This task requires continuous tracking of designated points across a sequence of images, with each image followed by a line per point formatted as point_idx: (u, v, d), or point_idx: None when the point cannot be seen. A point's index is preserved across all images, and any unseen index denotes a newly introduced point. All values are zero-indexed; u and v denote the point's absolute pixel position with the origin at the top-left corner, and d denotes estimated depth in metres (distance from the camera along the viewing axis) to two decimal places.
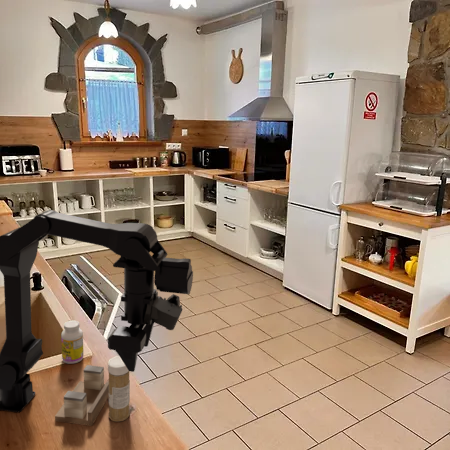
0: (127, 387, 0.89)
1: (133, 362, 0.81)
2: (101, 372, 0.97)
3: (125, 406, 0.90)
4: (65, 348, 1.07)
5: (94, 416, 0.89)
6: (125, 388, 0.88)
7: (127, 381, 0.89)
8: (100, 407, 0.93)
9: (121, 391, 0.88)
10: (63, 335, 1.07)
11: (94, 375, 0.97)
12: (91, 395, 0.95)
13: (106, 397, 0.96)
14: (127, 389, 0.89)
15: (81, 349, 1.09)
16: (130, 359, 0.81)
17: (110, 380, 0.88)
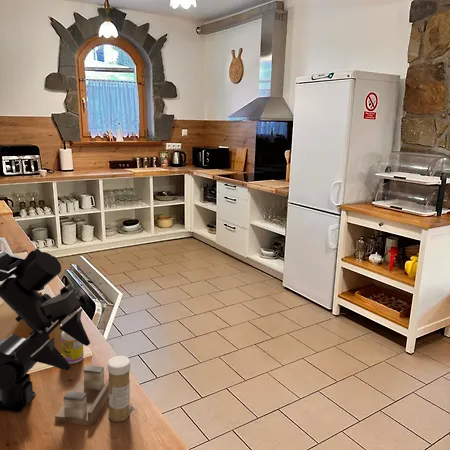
0: (127, 387, 0.89)
1: (60, 360, 0.83)
2: (101, 372, 0.97)
3: (125, 406, 0.90)
4: (65, 348, 1.07)
5: (94, 416, 0.89)
6: (125, 388, 0.88)
7: (127, 381, 0.89)
8: (100, 407, 0.93)
9: (121, 391, 0.88)
10: (63, 335, 1.07)
11: (94, 375, 0.97)
12: (91, 395, 0.95)
13: (106, 397, 0.96)
14: (127, 389, 0.89)
15: (81, 349, 1.09)
16: (55, 359, 0.83)
17: (110, 380, 0.88)
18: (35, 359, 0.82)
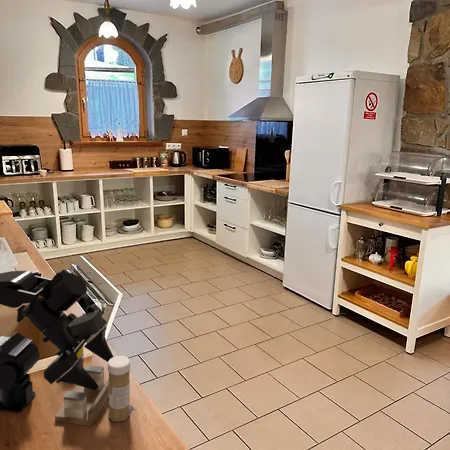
0: (127, 387, 0.89)
1: (88, 380, 0.84)
2: (101, 372, 0.97)
3: (125, 406, 0.90)
4: None
5: (94, 416, 0.89)
6: (125, 388, 0.88)
7: (127, 381, 0.89)
8: (100, 407, 0.93)
9: (121, 391, 0.88)
10: None
11: (94, 375, 0.97)
12: (91, 395, 0.95)
13: (106, 397, 0.96)
14: (127, 389, 0.89)
15: (81, 349, 1.09)
16: (83, 380, 0.83)
17: (110, 380, 0.88)
18: (63, 380, 0.83)
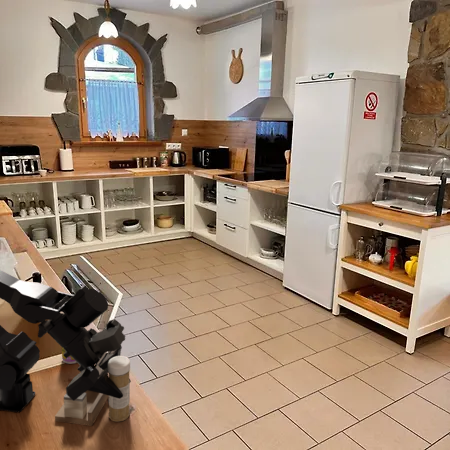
0: (127, 387, 0.89)
1: (113, 389, 0.86)
2: None
3: (125, 406, 0.90)
4: None
5: (94, 416, 0.89)
6: (125, 388, 0.88)
7: (127, 381, 0.89)
8: (100, 407, 0.93)
9: (121, 391, 0.88)
10: None
11: None
12: (91, 395, 0.95)
13: (106, 397, 0.96)
14: (127, 389, 0.89)
15: None
16: (109, 388, 0.86)
17: None
18: (90, 388, 0.85)
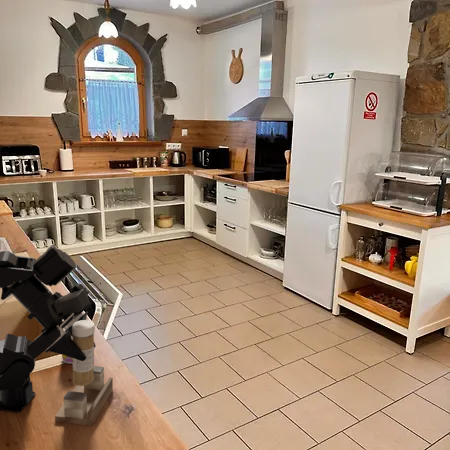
0: (91, 351, 0.90)
1: (76, 351, 0.87)
2: (101, 372, 0.97)
3: (88, 370, 0.90)
4: None
5: (94, 416, 0.89)
6: (88, 351, 0.89)
7: (91, 344, 0.89)
8: (100, 407, 0.93)
9: (84, 354, 0.89)
10: None
11: (94, 375, 0.97)
12: (91, 395, 0.95)
13: (106, 397, 0.96)
14: (91, 353, 0.90)
15: None
16: (72, 350, 0.87)
17: None
18: (52, 350, 0.86)
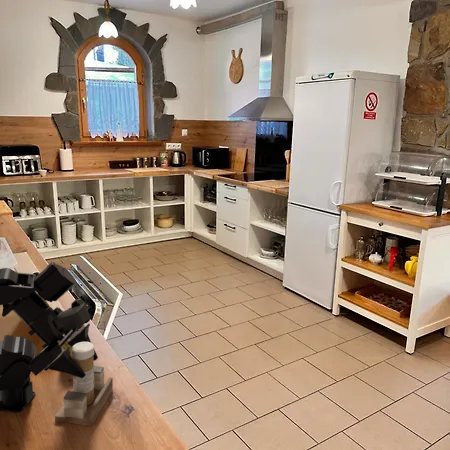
0: (91, 372, 0.91)
1: (75, 368, 0.87)
2: (101, 372, 0.97)
3: (89, 391, 0.92)
4: (65, 348, 1.07)
5: (94, 416, 0.89)
6: (88, 373, 0.90)
7: (91, 366, 0.91)
8: (100, 407, 0.93)
9: None
10: (63, 335, 1.07)
11: (94, 375, 0.97)
12: None
13: (106, 397, 0.96)
14: (91, 374, 0.91)
15: None
16: (71, 368, 0.87)
17: None
18: (52, 368, 0.87)
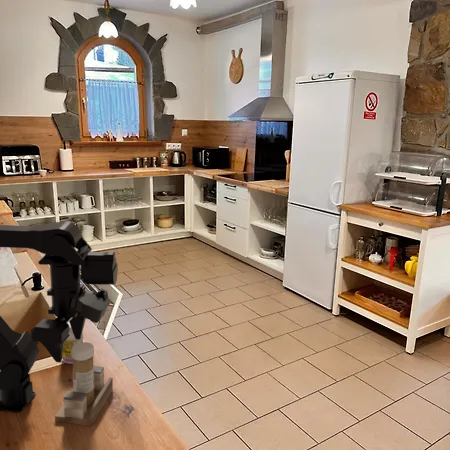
0: (91, 372, 0.91)
1: (59, 353, 0.86)
2: (101, 372, 0.97)
3: (89, 391, 0.92)
4: (65, 348, 1.07)
5: (94, 416, 0.89)
6: (88, 373, 0.90)
7: (91, 367, 0.91)
8: (100, 407, 0.93)
9: (84, 376, 0.90)
10: None
11: (94, 375, 0.97)
12: None
13: (106, 397, 0.96)
14: (91, 374, 0.91)
15: None
16: (56, 350, 0.85)
17: (74, 365, 0.90)
18: None
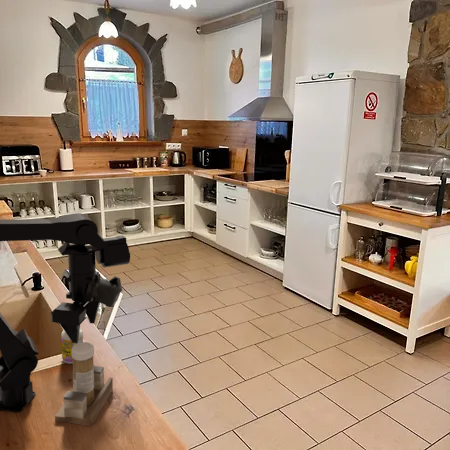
0: (91, 372, 0.91)
1: (75, 334, 0.93)
2: (101, 372, 0.97)
3: (89, 391, 0.92)
4: (65, 348, 1.07)
5: (94, 416, 0.89)
6: (88, 373, 0.90)
7: (91, 366, 0.91)
8: (100, 407, 0.93)
9: (84, 376, 0.90)
10: (63, 335, 1.07)
11: (94, 375, 0.97)
12: None
13: (106, 397, 0.96)
14: (91, 374, 0.91)
15: None
16: (73, 332, 0.93)
17: (74, 365, 0.90)
18: None
